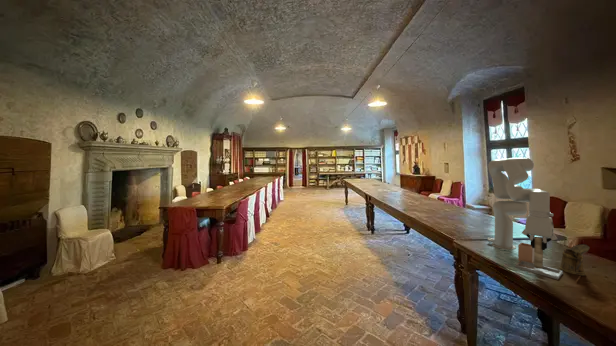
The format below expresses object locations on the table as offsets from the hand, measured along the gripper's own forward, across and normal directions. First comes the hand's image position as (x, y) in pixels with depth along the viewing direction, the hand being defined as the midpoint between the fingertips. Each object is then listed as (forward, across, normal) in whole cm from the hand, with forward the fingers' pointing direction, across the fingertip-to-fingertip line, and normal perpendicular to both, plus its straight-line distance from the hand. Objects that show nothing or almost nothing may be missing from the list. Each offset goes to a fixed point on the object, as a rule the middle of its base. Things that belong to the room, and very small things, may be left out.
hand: (538, 248), depth 120 cm
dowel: (+10, 0, 0) cm, 10 cm away
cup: (+13, +7, -11) cm, 18 cm away
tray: (+13, 0, 0) cm, 13 cm away
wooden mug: (+13, -11, -12) cm, 21 cm away
